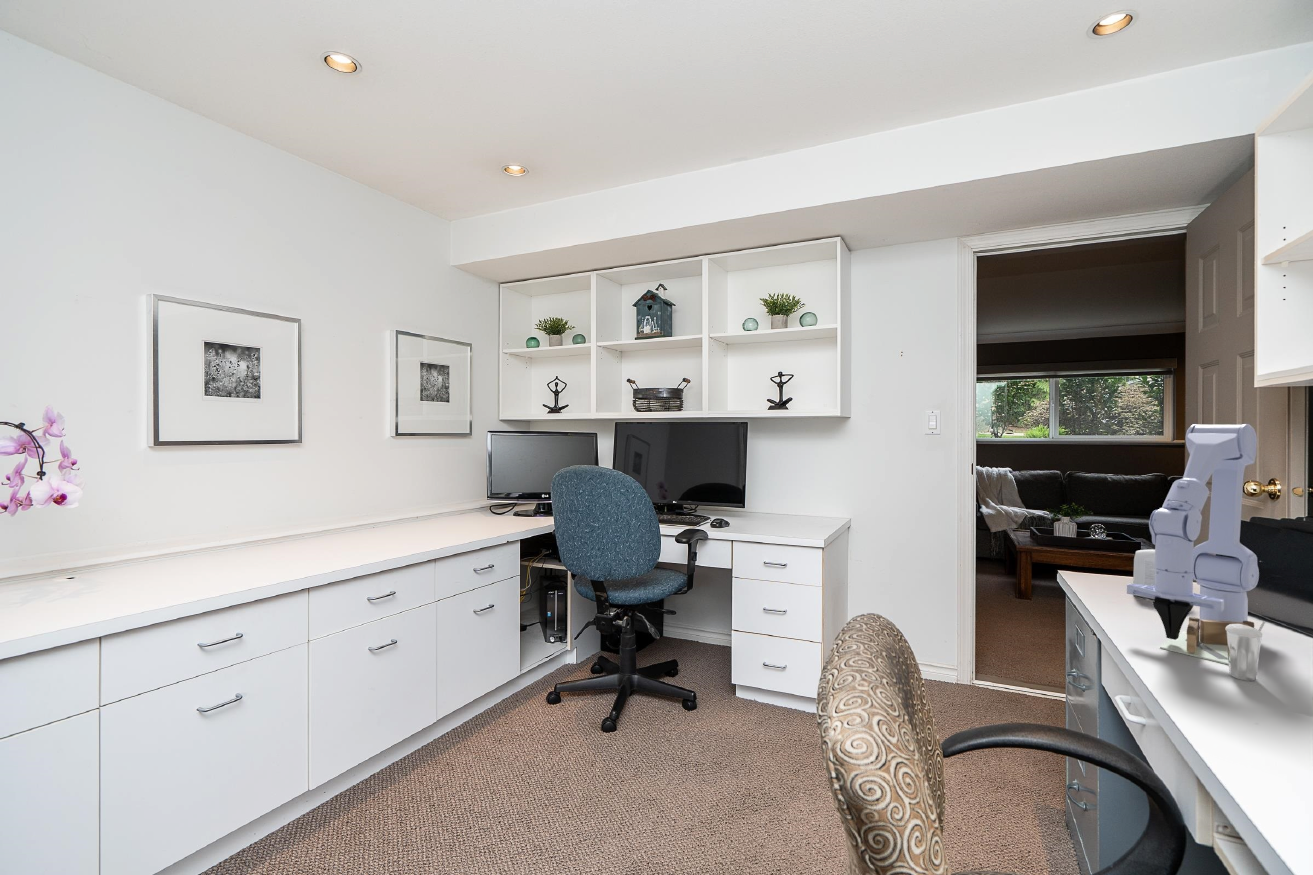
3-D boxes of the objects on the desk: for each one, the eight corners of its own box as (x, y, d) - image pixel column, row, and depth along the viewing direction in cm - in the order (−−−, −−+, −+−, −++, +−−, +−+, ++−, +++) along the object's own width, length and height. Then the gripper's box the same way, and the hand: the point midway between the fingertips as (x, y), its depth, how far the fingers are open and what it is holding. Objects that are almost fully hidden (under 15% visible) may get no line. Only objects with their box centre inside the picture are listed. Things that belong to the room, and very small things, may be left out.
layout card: (1184, 632, 125) (1184, 630, 125) (1257, 648, 116) (1257, 646, 116) (1160, 648, 117) (1159, 646, 117) (1236, 666, 108) (1236, 665, 108)
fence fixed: (1186, 641, 120) (1187, 616, 120) (1250, 646, 118) (1250, 620, 117) (1191, 643, 119) (1191, 619, 119) (1255, 649, 116) (1256, 623, 116)
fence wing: (1189, 640, 119) (1189, 620, 119) (1197, 641, 118) (1198, 621, 118) (1186, 651, 113) (1186, 630, 113) (1195, 653, 112) (1195, 632, 112)
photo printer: (1187, 602, 146) (1188, 552, 146) (1182, 605, 144) (1183, 555, 143) (1136, 593, 155) (1136, 545, 154) (1130, 595, 152) (1131, 547, 152)
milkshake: (1274, 684, 100) (1275, 625, 100) (1237, 681, 101) (1238, 623, 101) (1253, 673, 105) (1254, 617, 105) (1217, 670, 106) (1218, 615, 106)
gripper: (1121, 565, 121) (1120, 631, 121) (1217, 580, 109) (1215, 653, 109) (1134, 560, 125) (1133, 624, 125) (1227, 575, 113) (1226, 645, 114)
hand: (1172, 637), depth 118 cm, fingers closed
